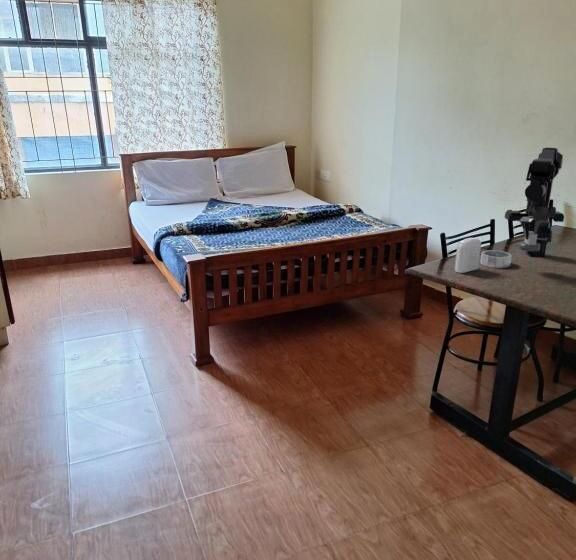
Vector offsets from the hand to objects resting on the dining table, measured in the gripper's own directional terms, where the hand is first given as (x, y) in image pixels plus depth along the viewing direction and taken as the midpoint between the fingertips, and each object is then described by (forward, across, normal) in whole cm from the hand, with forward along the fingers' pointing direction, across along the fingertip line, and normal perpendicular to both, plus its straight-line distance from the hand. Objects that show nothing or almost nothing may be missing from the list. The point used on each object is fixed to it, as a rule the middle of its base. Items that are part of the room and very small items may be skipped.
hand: (530, 239), depth 183 cm
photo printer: (+12, -22, -2) cm, 25 cm away
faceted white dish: (+12, -9, +8) cm, 17 cm away
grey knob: (+4, 0, 0) cm, 4 cm away
